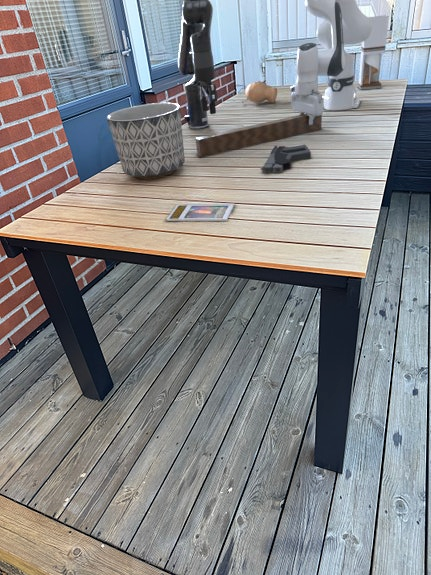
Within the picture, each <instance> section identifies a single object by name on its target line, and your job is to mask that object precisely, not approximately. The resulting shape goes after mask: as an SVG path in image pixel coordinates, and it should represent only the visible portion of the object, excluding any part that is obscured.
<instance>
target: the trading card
mask: <svg viewBox="0 0 431 575" xmlns="http://www.w3.org/2000/svg"><path fill="white" fill-rule="evenodd" d="M234 207H235V203H176V206H175V207H173V209H172V211H171V212H170V213H169V214H168V216H167V218H166V221H167V222H227V221H228V220H229V217H230V216H231V214H232V211H233V209H234Z"/></svg>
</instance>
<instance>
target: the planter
mask: <svg viewBox="0 0 431 575" xmlns="http://www.w3.org/2000/svg"><path fill="white" fill-rule="evenodd" d="M106 121H107V125H108V127H109V130H110V133H111V137H112V140H113V143H114V147H115V149H116V153H117V156H118V159H119V162H120V165H121V169H122V172H123V173H124V174H125V175H127V176H130V177H134V178H138V179H142V180H143V179H144V180H150V179H158V178H163V177H165V176H168V175H171V174H172V173H174V171H177V170H178V169H180V168H181V167H183V165H184V164H185V162H186V160H185V148H184V135H183V125H182V115H181V105H179V104H178V103H173V102H155V103H154V102H153V103H144V104H139V105H134V106H133V105H132V106H130V107H124V108H121V109H118V110H115V111H113V112H110V113H109V114H108V115H106Z"/></svg>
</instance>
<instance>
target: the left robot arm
mask: <svg viewBox="0 0 431 575" xmlns="http://www.w3.org/2000/svg"><path fill="white" fill-rule="evenodd" d="M181 11H182V12H181V14H182V16H181V34H180V43H179V50H178V51H179V52H178V59H177V67H178V71H179V74H180V75H181V76H182V77H188V76H189V77H190V76H193V77H192V79H191V80H190V81H189V82H187V83H185V85H184V91H185V96H186V98H185V99H186V106H187V107H186V111H187V115H184V116H183V117H184V122H186V123H187V125H188V127H189V128H190V129H191V130H200V129H206V128H208V127H209V126H210V125H209V124H210V123H209V119H208V111H209V114H210V115H215V114H216V113H217V110H216V103H217V102H218V94H217V85H216V84H215V83H212V80H215V78H216V72H215V62H214V55H213V51H212V50H213V49H212V41H211V40H212V39H211V38H212V37H211V31H212V22H213V15H214V8H213V4H212V2H211V1H210V0H183V4H182V10H181ZM191 51H192V52H191Z"/></svg>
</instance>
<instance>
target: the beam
mask: <svg viewBox="0 0 431 575" xmlns="http://www.w3.org/2000/svg"><path fill="white" fill-rule="evenodd" d="M308 120H309V114H307V113H304V114H302V115H299V114H298V115H293V116H289V117H284V118H280V119H279V118H278V119H275V120H271V121H266V122H262V123H257V124H253V125H252V124H251V125H248V126H244V127H238V128H235V129H230V130H226V131H221V132H217V133H212V134H207V135H202V136H199V137H195V144H196V145H195V146H196V152H197V154H196V155H197V156H198V157H200V158H205V157H208V156H212V155H217V154H221V153H225V152H226V153H227V152H230V151H234V150H239V149H242V148H246V147H247V148H248V147H252V146H255V145H260V144H265V143H269V142H272V141H273V142H274V141H276V140H281V139H285V138H291V137H294V136H299V135H302V134H307V133H310V132H315V131H319V130H322V123H323V121H322V120H323V114H322V115H319V116H315V117H314V119H313V124H312V125H309V124H308Z"/></svg>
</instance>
